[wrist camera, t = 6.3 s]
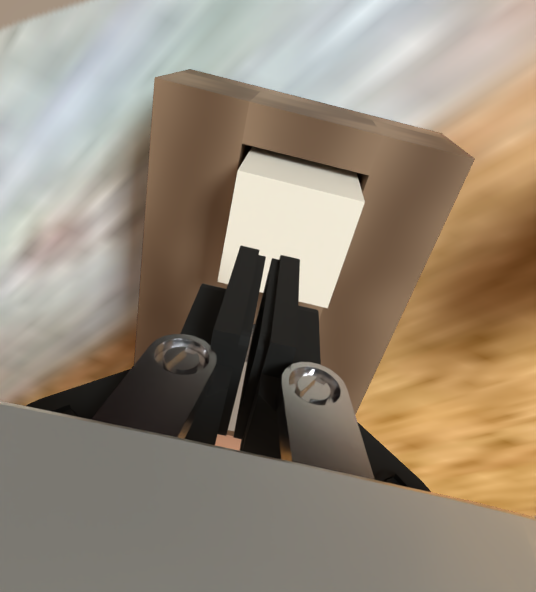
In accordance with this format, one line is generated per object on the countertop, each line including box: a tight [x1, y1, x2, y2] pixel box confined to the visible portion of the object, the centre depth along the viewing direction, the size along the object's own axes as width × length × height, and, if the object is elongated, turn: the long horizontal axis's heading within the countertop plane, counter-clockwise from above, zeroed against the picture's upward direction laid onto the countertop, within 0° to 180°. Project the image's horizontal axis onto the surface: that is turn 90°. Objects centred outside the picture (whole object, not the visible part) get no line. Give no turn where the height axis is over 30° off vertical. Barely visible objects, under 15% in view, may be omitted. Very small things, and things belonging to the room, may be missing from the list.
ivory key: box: [217, 146, 365, 308], centre depth 17 cm, size 4×4×4 cm
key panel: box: [134, 69, 475, 436], centre depth 24 cm, size 12×24×5 cm, turn 168°
